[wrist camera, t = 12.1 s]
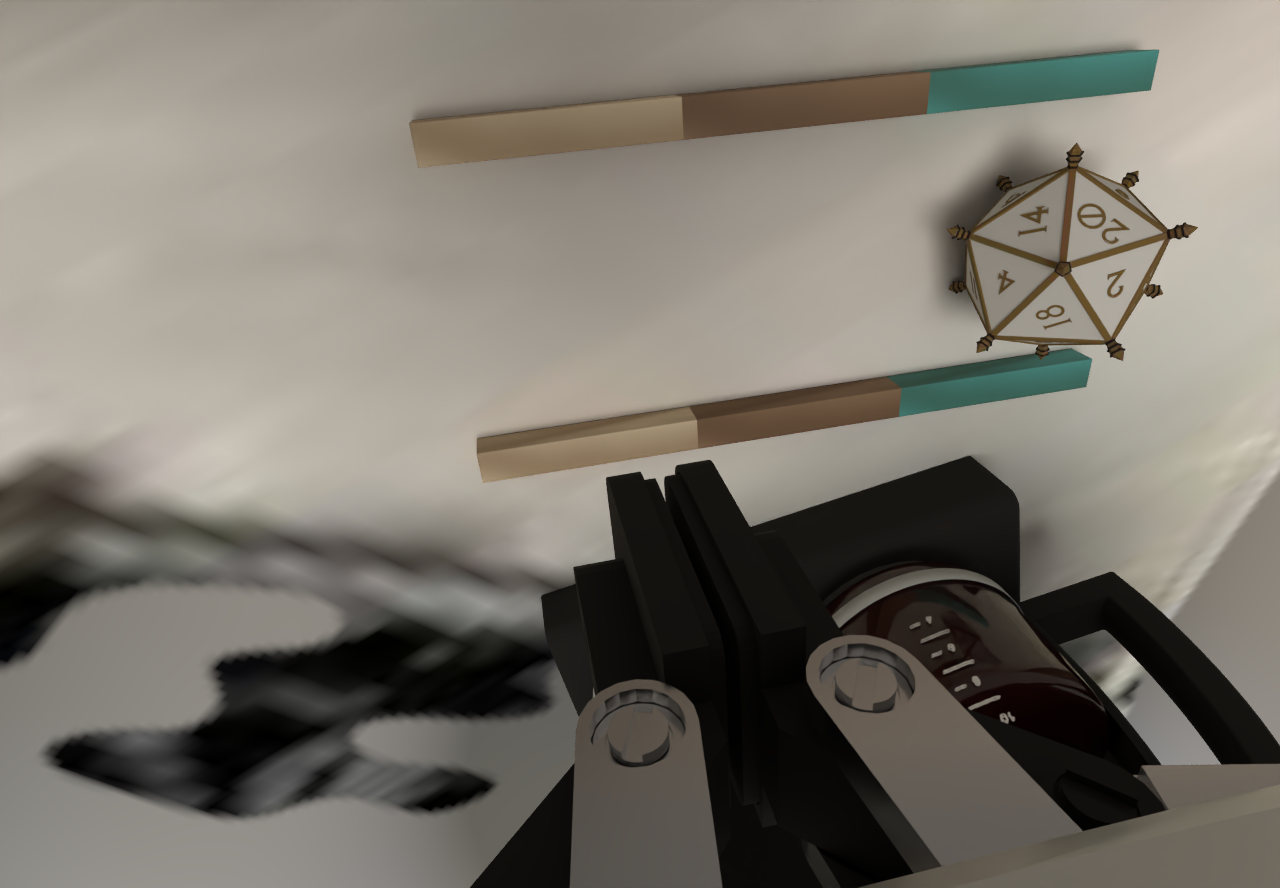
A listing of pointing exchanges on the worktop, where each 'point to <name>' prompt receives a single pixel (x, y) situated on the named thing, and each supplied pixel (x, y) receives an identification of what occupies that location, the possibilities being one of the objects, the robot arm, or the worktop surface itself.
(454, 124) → the pair of wooden rods
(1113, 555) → the worktop surface
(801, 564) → the coffee maker
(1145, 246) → the game die
